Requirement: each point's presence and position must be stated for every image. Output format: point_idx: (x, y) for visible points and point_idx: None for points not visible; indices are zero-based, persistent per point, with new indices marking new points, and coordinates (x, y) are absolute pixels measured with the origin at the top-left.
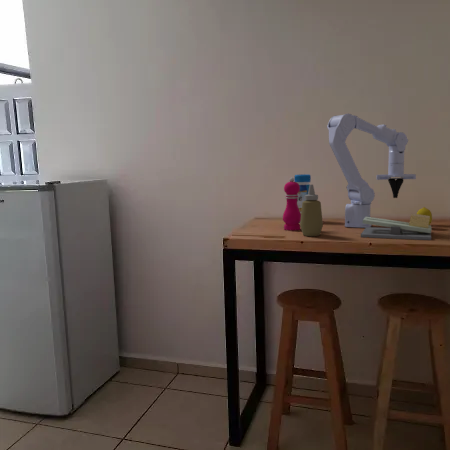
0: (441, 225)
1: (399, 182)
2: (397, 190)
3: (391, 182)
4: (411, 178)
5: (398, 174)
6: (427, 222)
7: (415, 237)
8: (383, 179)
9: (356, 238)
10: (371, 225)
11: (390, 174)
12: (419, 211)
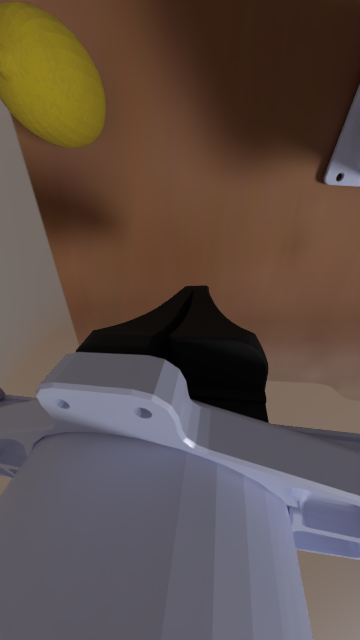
0: (54, 225)
1: (129, 329)
2: (174, 304)
3: (235, 332)
4: (9, 402)
5: (78, 444)
6: None
7: None
8: (352, 433)
9: None
10: (339, 136)
11: (265, 501)
12: (40, 27)
